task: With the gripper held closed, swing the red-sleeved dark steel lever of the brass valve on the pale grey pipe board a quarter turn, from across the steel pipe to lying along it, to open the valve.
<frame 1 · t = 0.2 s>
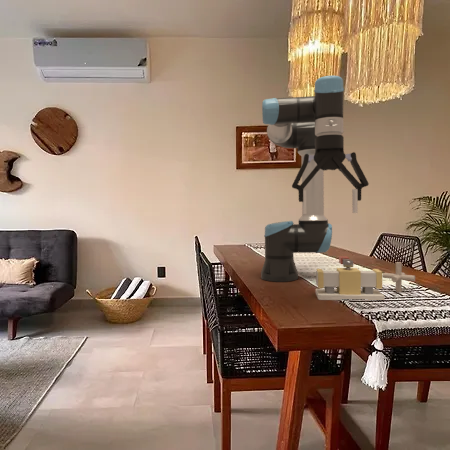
hand: (329, 213, 104), 28 cm above the table, fingers open, 13 cm apart
valve base: (348, 296, 123), on the table
valve lever: (345, 261, 126), point 11 cm above the table, hinge at 0.0°
pipe connector: (398, 292, 128), on the table
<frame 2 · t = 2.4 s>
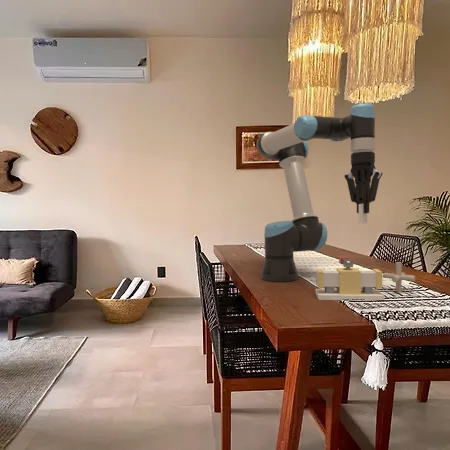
hand: (363, 223, 126), 24 cm above the table, fingers closed
nothing on the table moved.
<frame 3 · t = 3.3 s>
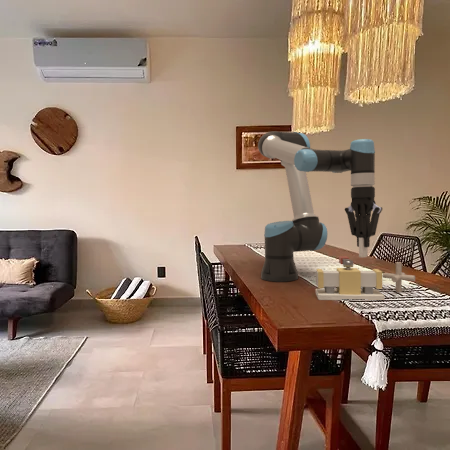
hand: (363, 256, 127), 12 cm above the table, fingers closed
nothing on the table moved.
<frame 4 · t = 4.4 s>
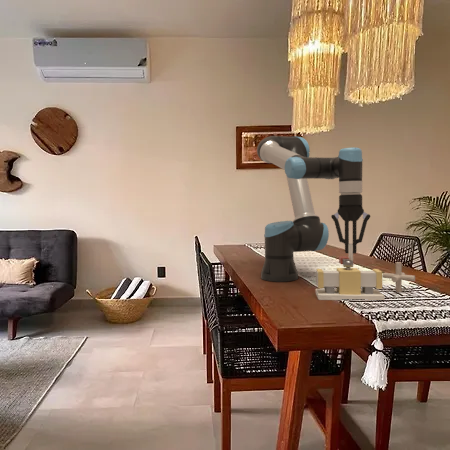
hand: (350, 262, 130), 10 cm above the table, fingers closed
valve lever: (345, 261, 126), point 11 cm above the table, hinge at 0.0°, touching gripper
everything else where it was.
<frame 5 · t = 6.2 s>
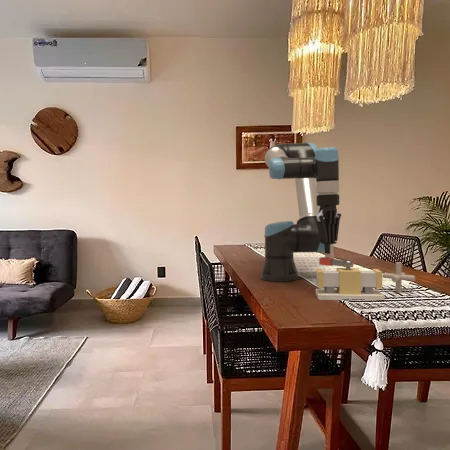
hand: (329, 262, 129), 10 cm above the table, fingers closed
valve lever: (336, 262, 125), point 11 cm above the table, hinge at 51.1°, touching gripper
everything else where it was.
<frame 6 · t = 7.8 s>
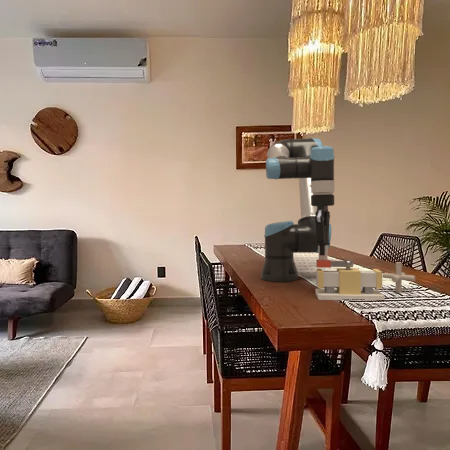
hand: (323, 264, 126), 10 cm above the table, fingers closed
valve lever: (334, 263, 123), point 11 cm above the table, hinge at 87.9°, touching gripper
everything else where it was.
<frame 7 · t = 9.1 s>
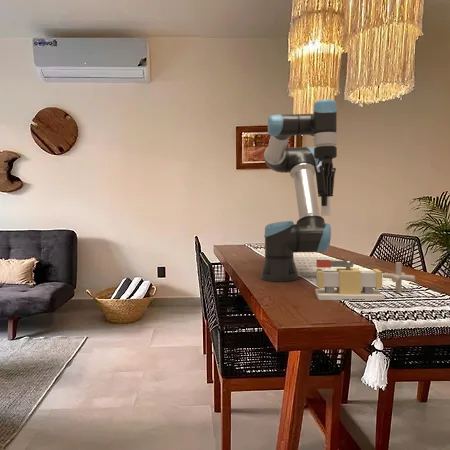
hand: (325, 215, 130), 26 cm above the table, fingers closed
valve lever: (334, 263, 123), point 11 cm above the table, hinge at 88.0°
everything else where it was.
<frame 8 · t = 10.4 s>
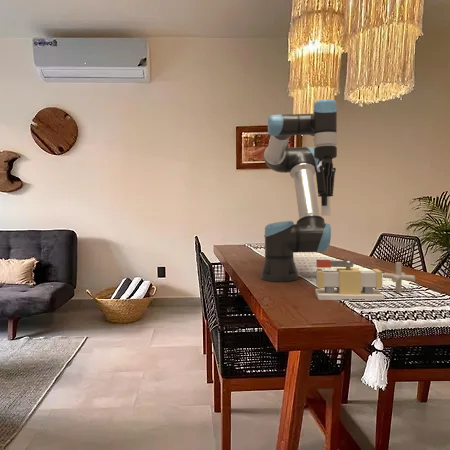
hand: (325, 215, 130), 26 cm above the table, fingers closed
nothing on the table moved.
at the end: valve lever at +88° (first picture: +0°); pipe connector moved 0.2 cm from its start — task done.
